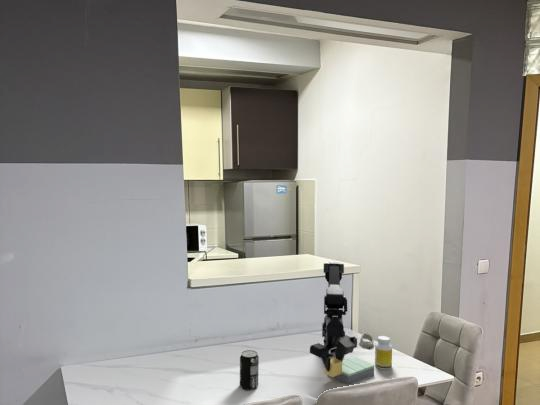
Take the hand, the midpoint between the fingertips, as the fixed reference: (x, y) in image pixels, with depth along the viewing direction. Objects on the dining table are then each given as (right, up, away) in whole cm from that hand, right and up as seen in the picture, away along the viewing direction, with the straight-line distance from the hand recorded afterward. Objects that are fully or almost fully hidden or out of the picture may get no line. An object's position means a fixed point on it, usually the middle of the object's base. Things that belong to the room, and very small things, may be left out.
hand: (333, 369), depth 151 cm
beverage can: (-31, -5, -4) cm, 31 cm away
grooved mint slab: (+6, -1, +4) cm, 7 cm away
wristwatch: (+21, -4, +37) cm, 42 cm away
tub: (+8, -5, +6) cm, 11 cm away
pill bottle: (+22, -5, +13) cm, 26 cm away
